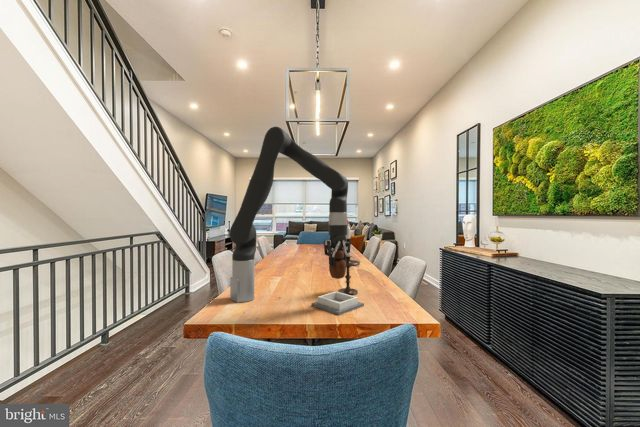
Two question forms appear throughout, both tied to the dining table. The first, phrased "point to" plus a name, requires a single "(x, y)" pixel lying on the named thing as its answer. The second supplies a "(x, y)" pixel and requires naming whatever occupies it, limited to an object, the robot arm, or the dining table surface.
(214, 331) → the dining table surface
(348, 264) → the candlestick
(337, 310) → the plate
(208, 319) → the dining table surface
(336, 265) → the wooden figurine
